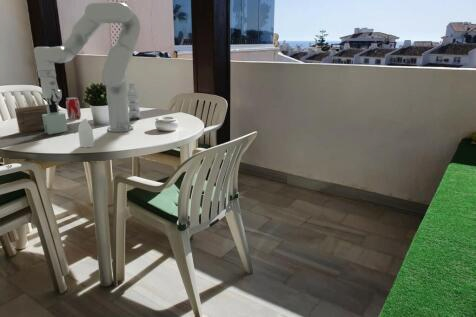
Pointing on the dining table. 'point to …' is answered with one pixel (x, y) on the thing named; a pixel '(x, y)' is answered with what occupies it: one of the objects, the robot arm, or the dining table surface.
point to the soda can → (73, 108)
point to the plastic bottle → (133, 102)
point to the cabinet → (54, 121)
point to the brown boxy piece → (30, 118)
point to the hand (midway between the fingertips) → (53, 112)
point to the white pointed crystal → (85, 134)
